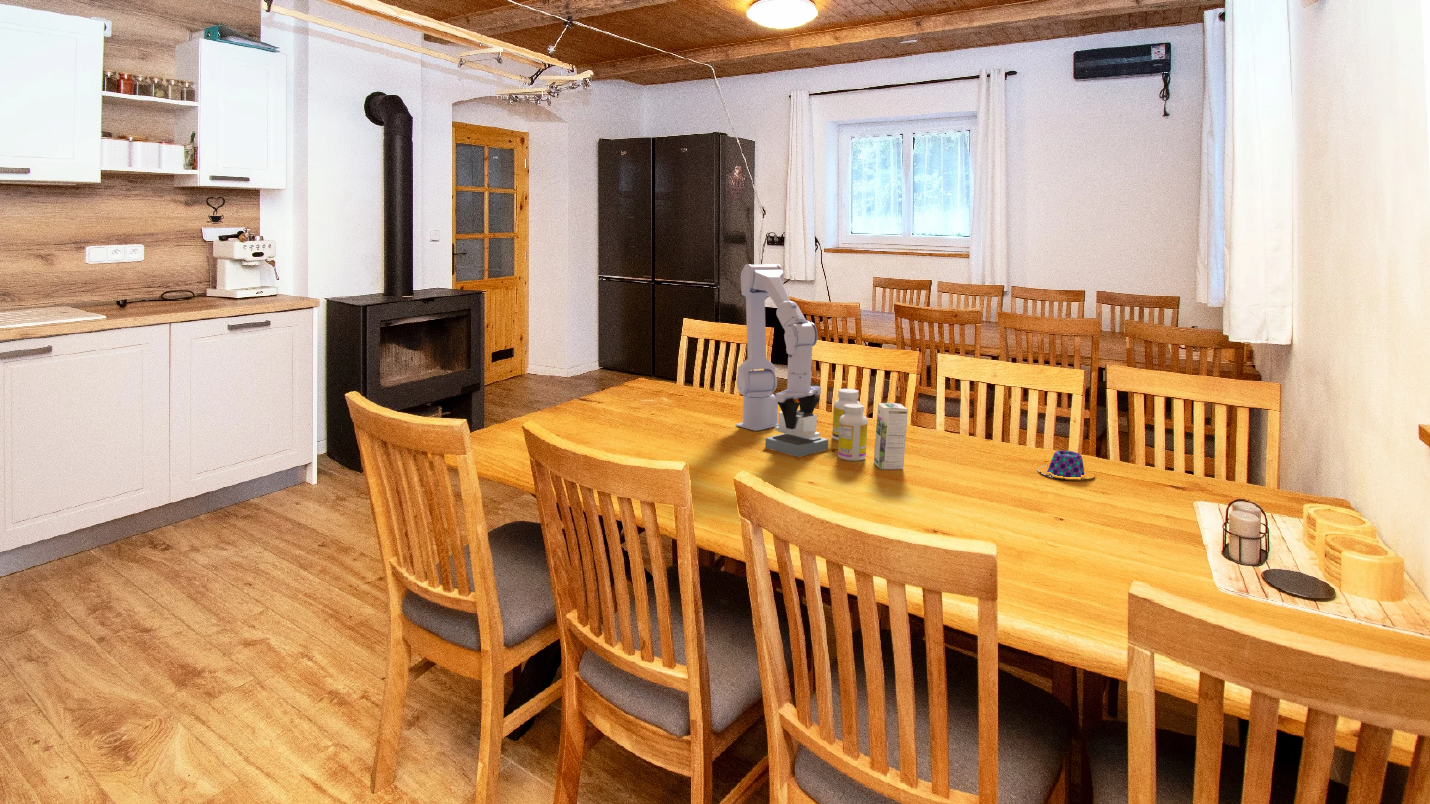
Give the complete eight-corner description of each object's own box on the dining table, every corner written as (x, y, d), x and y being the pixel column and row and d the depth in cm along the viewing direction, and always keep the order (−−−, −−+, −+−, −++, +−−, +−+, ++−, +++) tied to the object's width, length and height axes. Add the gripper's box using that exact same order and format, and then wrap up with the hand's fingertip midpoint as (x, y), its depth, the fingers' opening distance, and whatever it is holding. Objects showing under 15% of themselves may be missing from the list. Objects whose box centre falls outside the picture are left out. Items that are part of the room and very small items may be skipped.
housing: (786, 427, 214) (787, 406, 212) (821, 435, 206) (822, 413, 205) (773, 430, 210) (774, 409, 209) (808, 439, 202) (809, 416, 201)
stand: (794, 440, 216) (795, 429, 216) (828, 449, 209) (828, 438, 208) (765, 447, 209) (765, 436, 208) (798, 457, 201) (799, 445, 201)
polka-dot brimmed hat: (1032, 466, 198) (1034, 445, 197) (1085, 469, 196) (1087, 447, 195) (1044, 482, 186) (1046, 459, 185) (1101, 485, 185) (1104, 462, 183)
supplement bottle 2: (862, 453, 205) (865, 402, 202) (868, 461, 198) (871, 408, 196) (835, 453, 205) (837, 402, 202) (840, 461, 198) (842, 408, 195)
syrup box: (872, 462, 198) (876, 402, 194) (897, 462, 198) (901, 402, 195) (879, 469, 192) (883, 408, 189) (904, 469, 193) (908, 408, 189)
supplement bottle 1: (841, 443, 214) (844, 394, 211) (826, 436, 220) (829, 388, 218) (865, 440, 217) (867, 392, 214) (849, 434, 223) (852, 386, 221)
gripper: (791, 378, 197) (789, 434, 200) (831, 371, 207) (828, 425, 210) (769, 374, 202) (768, 428, 205) (809, 367, 212) (807, 419, 215)
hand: (797, 426), depth 208 cm, fingers closed on housing, 5 cm apart
